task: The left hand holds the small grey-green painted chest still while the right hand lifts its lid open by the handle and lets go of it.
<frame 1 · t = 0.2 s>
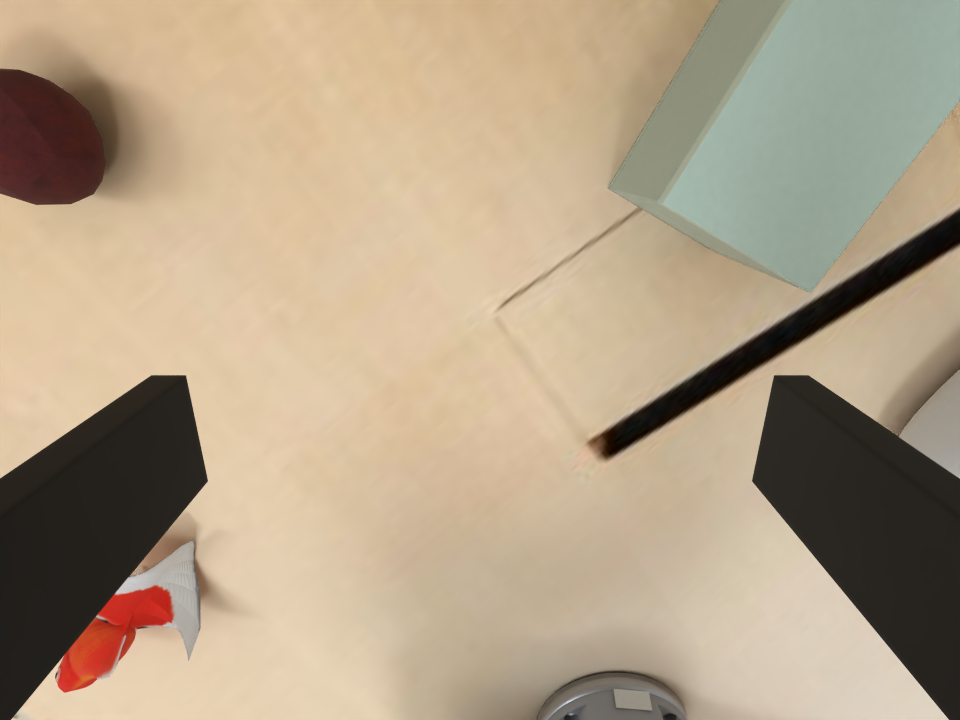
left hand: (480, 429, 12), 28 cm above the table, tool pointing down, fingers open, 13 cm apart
dark red ball: (74, 143, 36), on the table
chest: (741, 98, 35), on the table
lid: (922, 56, 21), point 15 cm above the table, hinge at 0.0°
fish: (151, 578, 49), on the table
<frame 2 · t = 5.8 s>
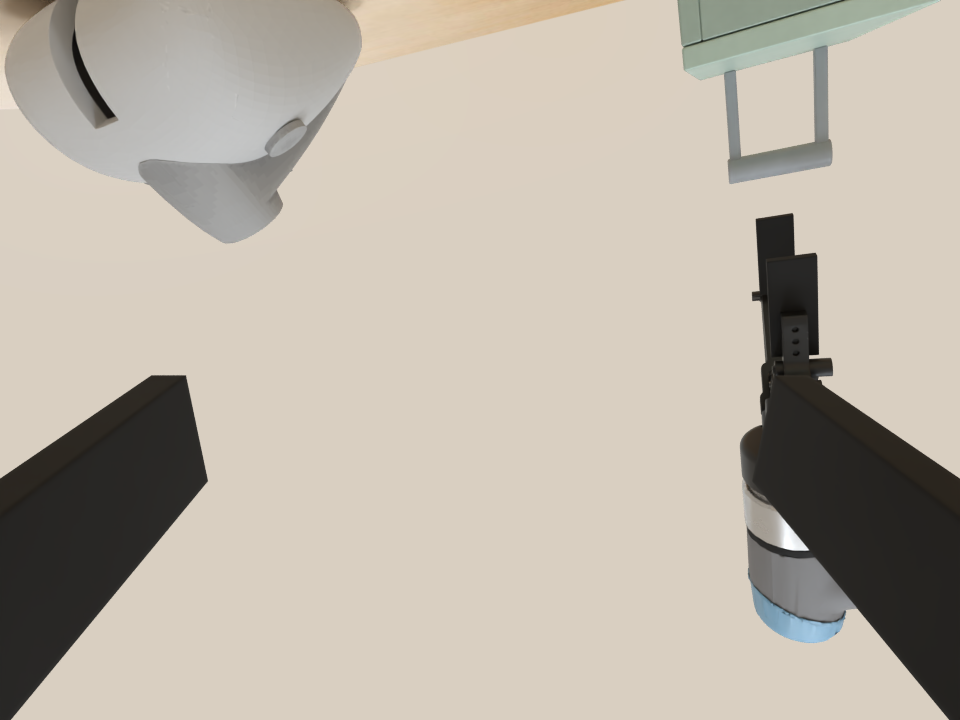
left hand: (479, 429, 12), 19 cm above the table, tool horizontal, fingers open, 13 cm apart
lid: (784, 114, 31), point 15 cm above the table, hinge at 0.0°
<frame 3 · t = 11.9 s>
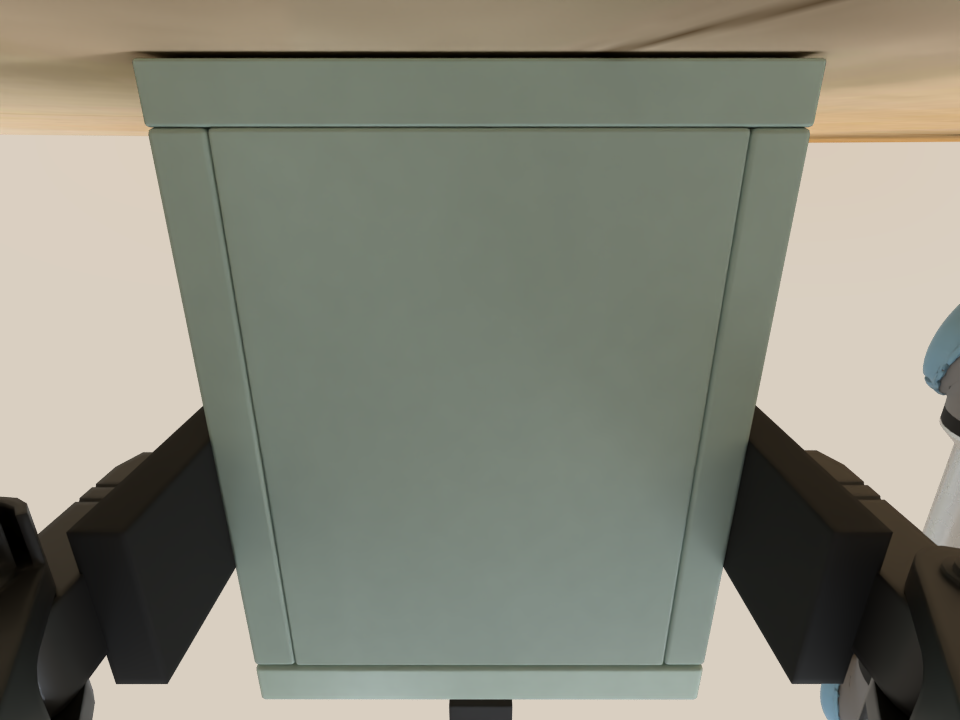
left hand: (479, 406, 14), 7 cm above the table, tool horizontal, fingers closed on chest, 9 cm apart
chest: (479, 106, 15), on the table, touching left hand
lid: (479, 538, 21), point 15 cm above the table, hinge at 0.0°
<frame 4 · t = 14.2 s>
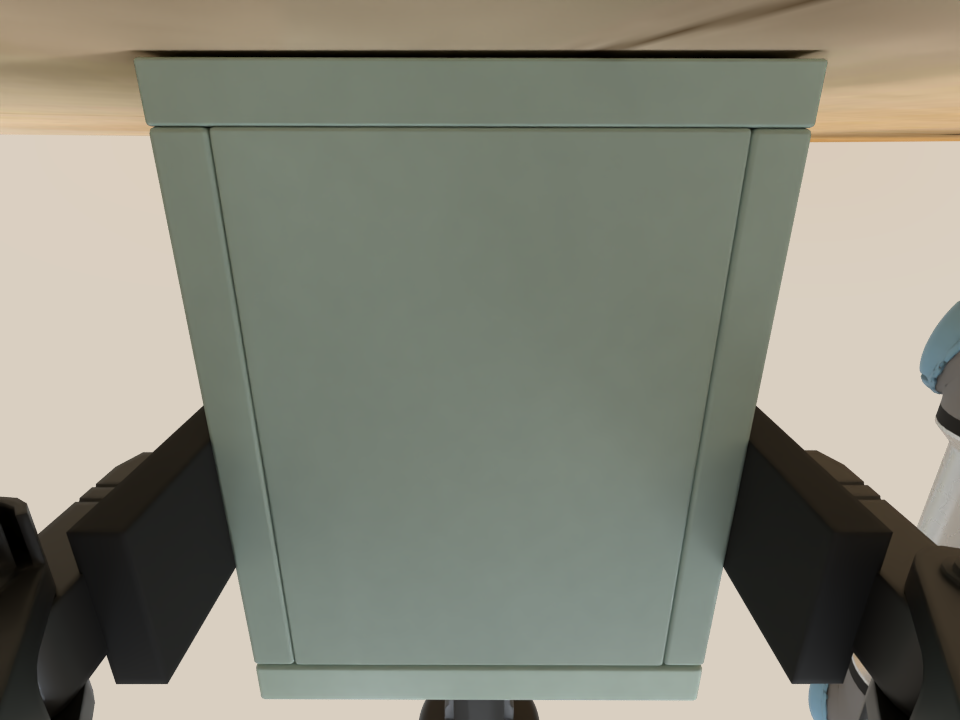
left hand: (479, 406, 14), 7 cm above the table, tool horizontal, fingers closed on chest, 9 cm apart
chest: (480, 106, 15), on the table, touching left hand
lid: (479, 544, 21), point 15 cm above the table, hinge at 1.2°, touching right hand
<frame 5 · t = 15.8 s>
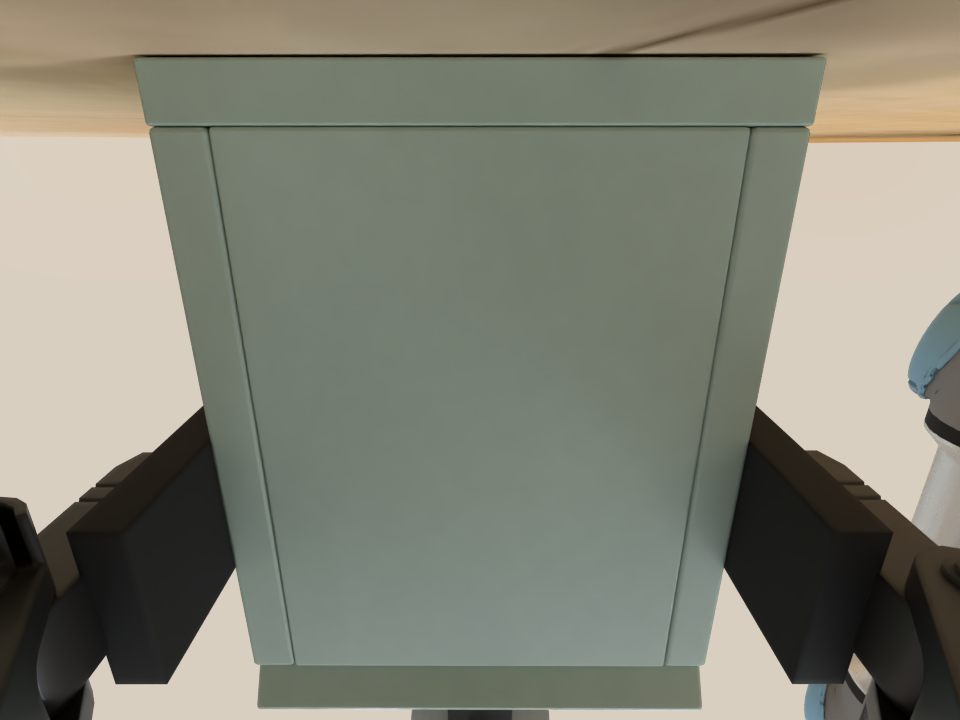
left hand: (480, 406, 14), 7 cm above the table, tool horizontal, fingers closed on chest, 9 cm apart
chest: (480, 108, 15), on the table, touching left hand
lid: (480, 697, 19), point 19 cm above the table, hinge at 31.8°, touching right hand
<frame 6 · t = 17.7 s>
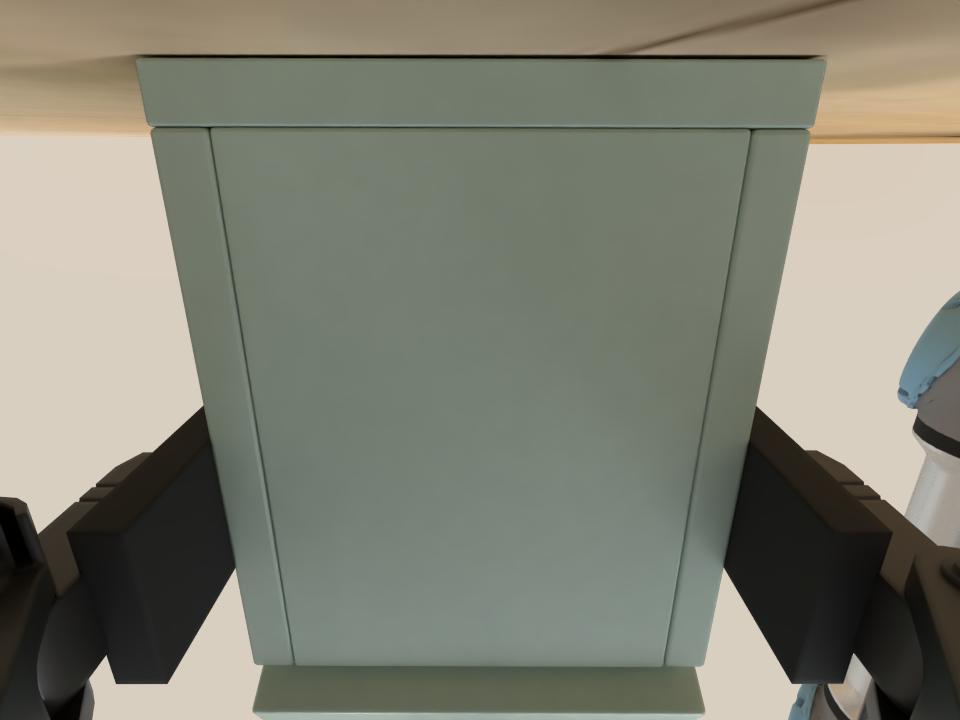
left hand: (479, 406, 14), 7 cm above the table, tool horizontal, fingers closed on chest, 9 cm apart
chest: (480, 108, 15), on the table, touching left hand
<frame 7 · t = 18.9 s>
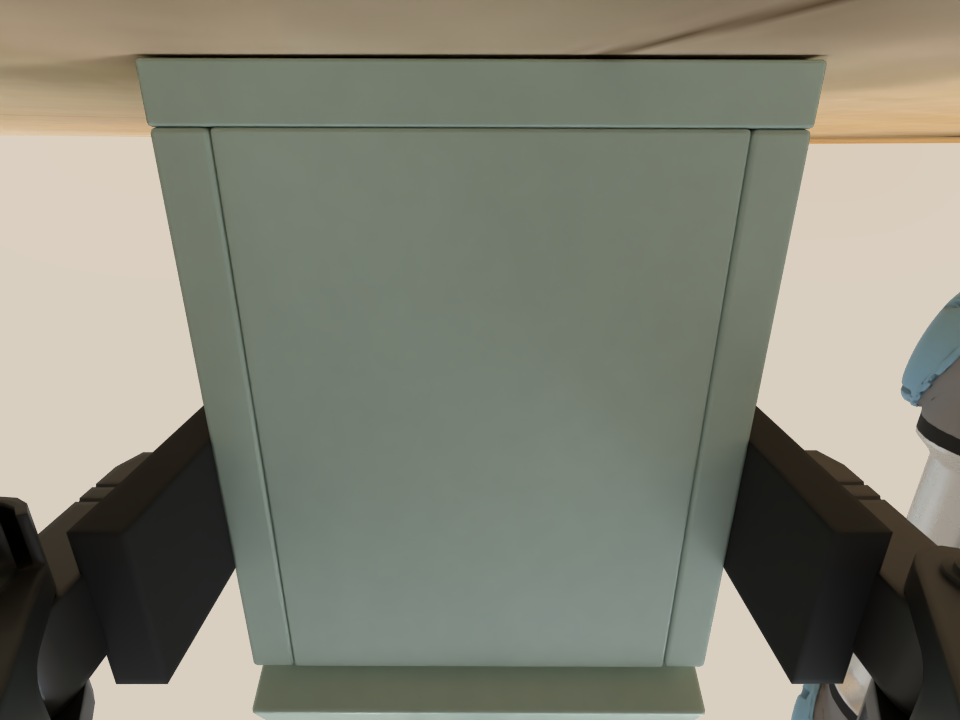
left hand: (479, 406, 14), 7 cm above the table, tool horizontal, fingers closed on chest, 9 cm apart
chest: (480, 108, 15), on the table, touching left hand
when the left hand's fingers open (7 cm above the table, at t = 21.4 s): chest stays where it is, on the table.
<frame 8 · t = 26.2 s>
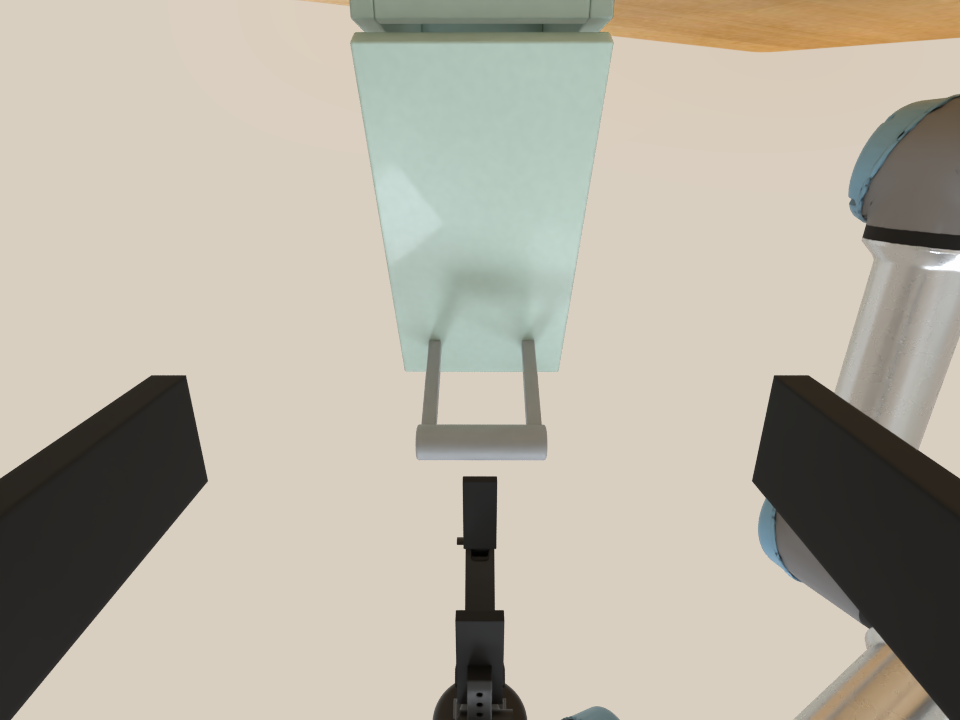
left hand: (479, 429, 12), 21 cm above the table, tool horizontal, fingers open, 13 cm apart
lid: (481, 296, 24), point 21 cm above the table, hinge at 61.8°
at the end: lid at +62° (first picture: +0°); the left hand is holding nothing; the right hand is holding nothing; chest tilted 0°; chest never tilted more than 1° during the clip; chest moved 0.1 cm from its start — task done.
